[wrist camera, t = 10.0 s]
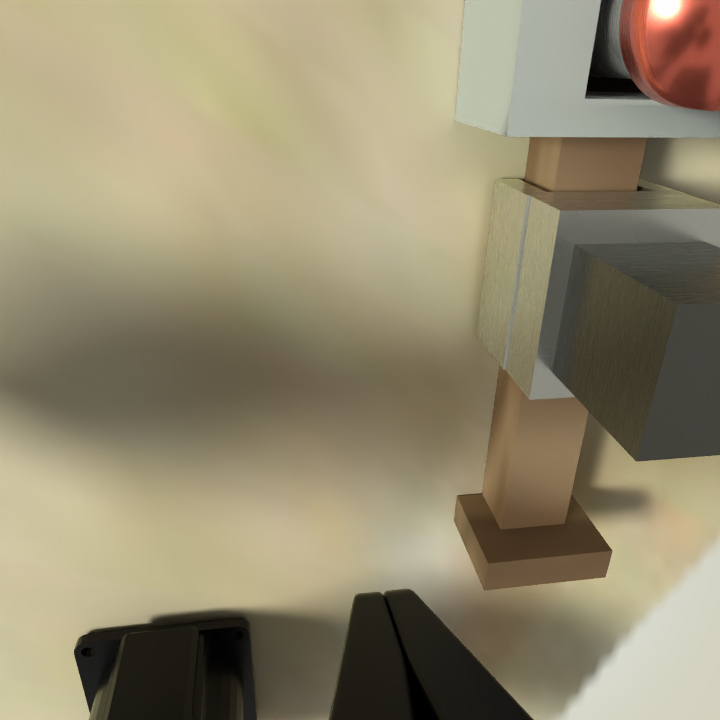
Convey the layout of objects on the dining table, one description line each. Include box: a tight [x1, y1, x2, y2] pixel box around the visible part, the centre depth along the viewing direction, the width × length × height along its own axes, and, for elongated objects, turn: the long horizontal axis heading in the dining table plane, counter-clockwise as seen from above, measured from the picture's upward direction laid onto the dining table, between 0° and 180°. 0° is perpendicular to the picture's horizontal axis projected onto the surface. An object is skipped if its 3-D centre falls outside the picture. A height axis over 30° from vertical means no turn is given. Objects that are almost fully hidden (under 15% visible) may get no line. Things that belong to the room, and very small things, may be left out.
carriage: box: [477, 179, 720, 461], centre depth 16 cm, size 5×4×8 cm
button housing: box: [455, 0, 720, 138], centre depth 15 cm, size 5×7×4 cm
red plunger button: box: [589, 0, 720, 111], centre depth 14 cm, size 4×4×5 cm
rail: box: [454, 137, 648, 590], centre depth 19 cm, size 14×4×4 cm, turn 179°
